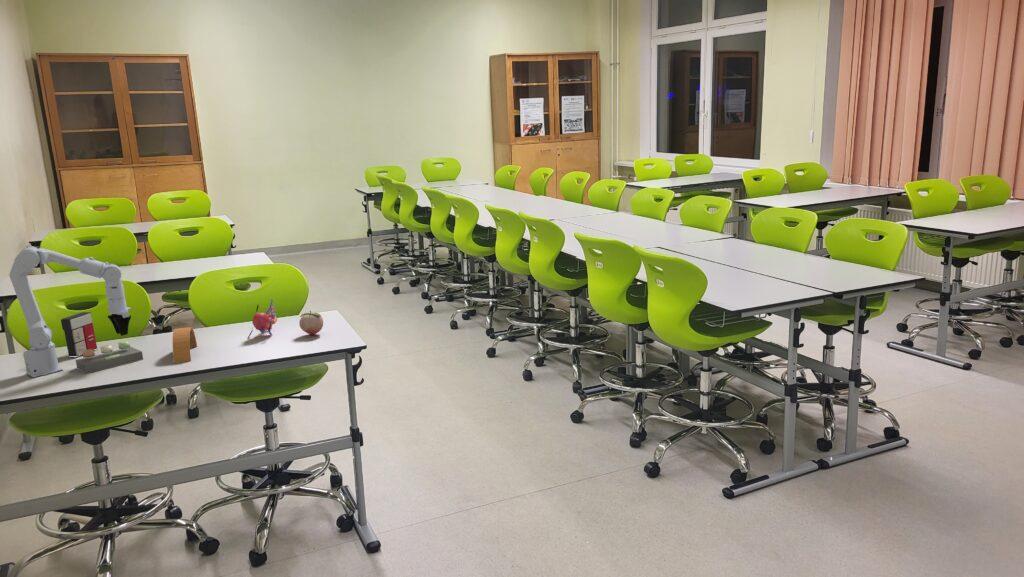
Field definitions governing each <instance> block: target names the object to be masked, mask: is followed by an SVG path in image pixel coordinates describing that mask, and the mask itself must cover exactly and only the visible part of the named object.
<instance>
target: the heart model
mask: <svg viewBox="0 0 1024 577" xmlns="http://www.w3.org/2000/svg"><path fill="white" fill-rule="evenodd" d="M258 309H259V304H257V305H256V310H255V311H256V313H254V315H253V317H252V325H253V328H254V329H255V330H257V331H259V332H260V333H261V334H265V332H268V335H270V336H271V335H272V336H273V334H272V330H273V325H274V324H276V323H277V321H278V318H277V316H276V313H274V312H279V311H278V309H276V308H275V307H274V304H273V299H270V305H269V308H268V309H267V311H266V312H258ZM254 329H251V331H250V333H249V335H248V336H247V339H248V338H249V337H250V336H251V335H252V333H253V331H254ZM267 330H268V331H267Z"/></svg>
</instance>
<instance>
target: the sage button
mask: <svg viewBox="0 0 1024 577" xmlns="http://www.w3.org/2000/svg"><path fill="white" fill-rule="evenodd" d="M117 344H118V350H121V349H126V348H129V347H131V344H130V341H129V340H124V341H120V342H118V343H117Z"/></svg>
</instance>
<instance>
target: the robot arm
mask: <svg viewBox="0 0 1024 577" xmlns="http://www.w3.org/2000/svg"><path fill="white" fill-rule="evenodd" d="M40 262H41V264H42V265H44V264H49V263H54V264H59V265H62V266H63V265H64V266H67V267H71V268H75V269H78V271H79V273H80V274H84V275H87V276H90V277H91V276H92V277H94V278H99V279H101V278H102V279H103V280H104V282H105V284H104V285H105V287H104V288H105V293H106V300H107V305H108V308H107V309H108V314H109V315H107V318H108V320H109V321H110V322H111V324H112V326H113V328H114V331H115V333H116V334H117V335H119V334H120V336H127V335H128V334H129V324H130V321H131V318H132V315H130V312H129V311H130V310H131V307H130V306H129V307H128V306H127V300H126V296H125V295H126V294H125V289H124V288H125V287H124V284H123V279H122V270H121V268H120V267H119V266H118V265H117V264H115V263H109V262H108V261H105V262H103V261H101V260H96V259H95V258H94V257H92V256H90V257H84V258H82V259H79V258H76V257H73V256H70V255H67V254H63V253H60V252H58V251H54V250H52V249H47V248H43V247H39V248H38V247H37V246H26V247H25V248H23V249H22V250H21V251H20V252H19V253H18V254H17V255H16V256H15V257H14V260H13V263H12V266H11V269H10V271H9V274H8V275H9V278H10V281H11V283H12V284H11V285H12V287H13V289H14V292H15V294H16V297H17V301H18V303H19V305H20V308H21V310H22V314H23V317H24V319H25V322H26V324H27V332H28V334H29V336H28V343H29V345H30V349H29V350H25V351H23V359H24V364H25V370H26V374H27V375H29V376H30V377H31V378H36V377H40V376H44V375H49V374H53V373H57V372H60V371H64V368H62V367H61V366H59V361H58V356H57V351H56V350H57V349H56V344H55V343H54V342H53V341H52V339H53V337H54V336H53V335H54V334H53V331H52V329H51V328H50V327H48V325H47V323H46V321H45V320H44V318H43V315H42V313H41V311H40V308H39V305H38V302H37V299H36V298H35V297H36V296H35V294H34V292H33V289H32V287H31V284H30V283H31V282H30V281H29V278H28V275H29V273H30V272H31V271H32V269H34V268H35V267H37V266H38V265H39V263H40Z"/></svg>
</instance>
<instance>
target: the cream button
mask: <svg viewBox="0 0 1024 577" xmlns="http://www.w3.org/2000/svg"><path fill="white" fill-rule="evenodd" d="M112 351H114V350H113V346H112V345H111V344H105V345H102V346H100V352H101V354H103V353H109V352H112Z"/></svg>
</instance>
